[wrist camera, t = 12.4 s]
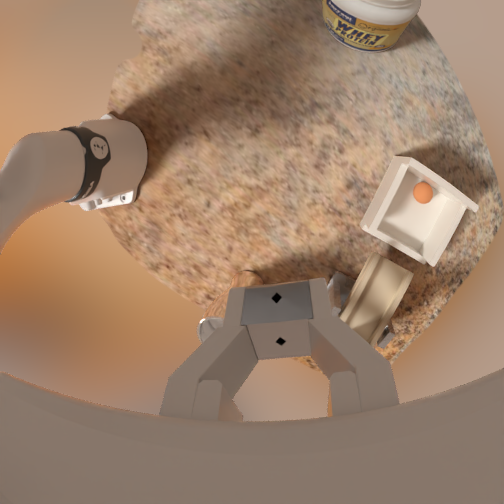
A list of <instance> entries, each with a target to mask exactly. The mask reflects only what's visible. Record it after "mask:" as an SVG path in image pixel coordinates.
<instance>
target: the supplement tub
mask: <svg viewBox="0 0 504 504" xmlns="http://www.w3.org/2000/svg"><path fill="white" fill-rule="evenodd" d="M420 5H421V0H322V9H323V12H322V16H323V21H324V24H325V26H326V28H327V29H328V31H329V32H330V34H331V35H332V36H333V37H334V38H335V39H336V40H337V41H339V42H340V43H342V44H343V45H345V46H347V47H349V48H351V49H353V50H357V51H360V52H367V53H376V52H381V51H385V50H387V49H389V48H391V47H392V46H394V45H395V44H396V42H397V41H398V39H399V37H400V36H401V34H402V33H403V31H404V30H405V29H406V27H407V26H408V25H409V23H410V22H411V20H412V19H413V18H414V17H415V16H416V14H417V13H418V11H419V8H420Z"/></svg>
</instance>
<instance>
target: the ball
mask: <svg viewBox="0 0 504 504" xmlns="http://www.w3.org/2000/svg"><path fill="white" fill-rule="evenodd" d="M413 195H414V198H415V200H416V201H417V202H419V203H421V204H426V203H429V202H430V201H431V199H432V197H433V190H432V188H431V186H430V185H429V184H427V183H425V182H420V183H418V184H416V185H415V187H414V189H413Z"/></svg>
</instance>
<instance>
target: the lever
mask: <svg viewBox="0 0 504 504" xmlns="http://www.w3.org/2000/svg"><path fill="white" fill-rule="evenodd" d="M413 276H414V274H413V273H412V272H410V271H408V270H406V269H404V268H402V267H401V266H399V265H397V264H395V263H393V262H392V261H390V260H388V259H386V258H384V257H383V256H381V255H379V254H378V253H376V252H373V251H371V253H370V255H369V257H368V259H367V261H366V263H365V265H364V267H363V269H362V271H361V273H360V275H359V277H358V278H357V280H356V282H355V284H354V286H353V288H352V290H351V292H350V294H349V295H348V297H347V299H346V301H345V303H344V304H343V306H342V308H341V311H340V312H339V314H338V315H337V316H338V317H339V318H340V319H342V320H343V321H344V322H345V323H346V324H347V325H348V326H349V327H351V328H352V329H353V330H354V331H355V332H356V333H357V334H358V335H360V336H361V337H362V338H363V339H364V340H365V341H366V342H368V343H369V344H370V345H371V346H372V347H374V345H375V344H376V342H377V340H378V339H379V337H380V336H381V334H382V332H383V331H384V329H385V327H386V326H387V324H388V322H389V321H390V319H391V317H392V315H393V314H394V312H395V310H396V308H397V306H398V305H399V303H400V301H401V299H402V297H403V295H404V293H405V292H406V290H407V288H408V286H409V284H410V282H411V280H412V278H413Z"/></svg>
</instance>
